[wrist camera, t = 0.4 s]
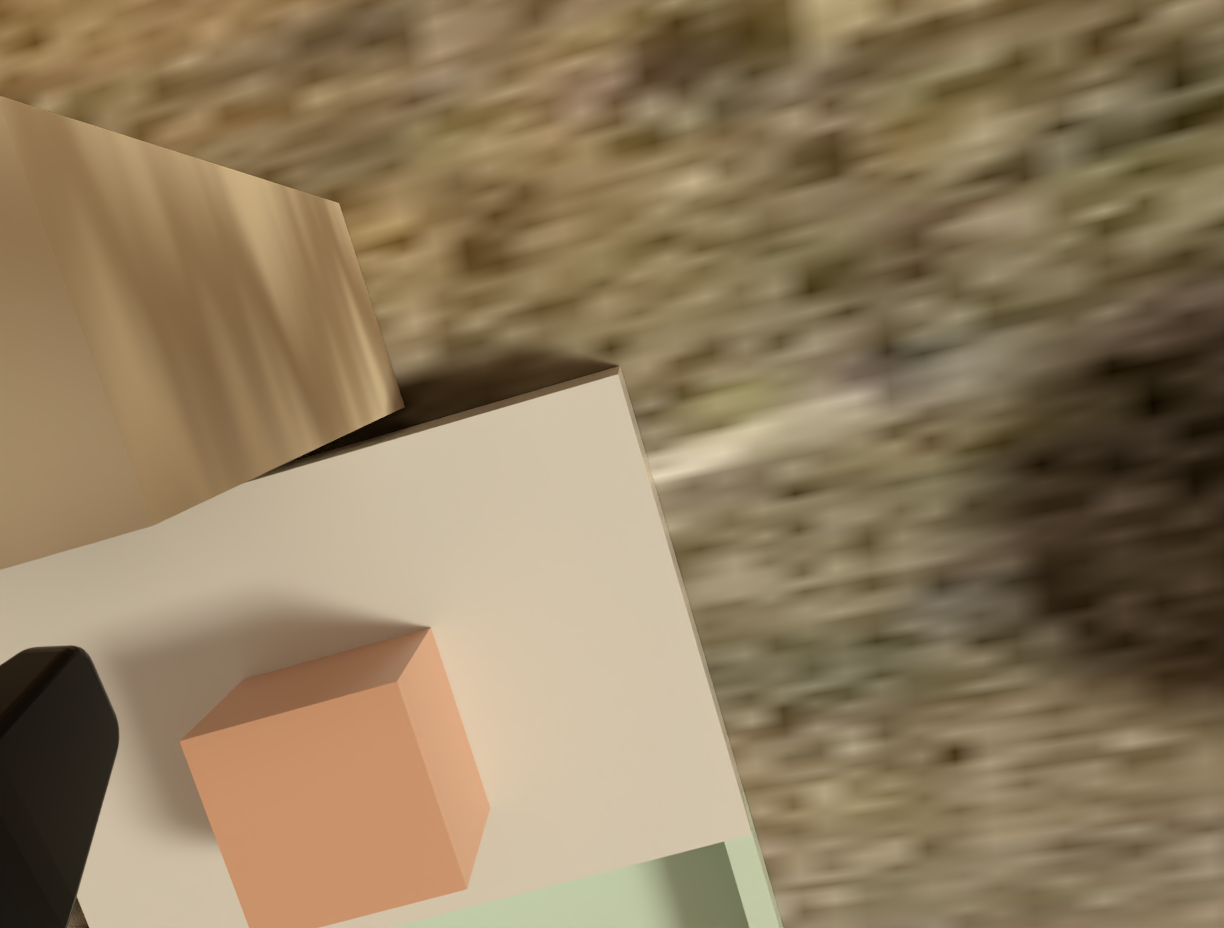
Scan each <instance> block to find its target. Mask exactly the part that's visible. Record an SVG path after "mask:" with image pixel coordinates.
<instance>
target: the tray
mask: <svg viewBox="0 0 1224 928" xmlns="http://www.w3.org/2000/svg"><path fill="white" fill-rule="evenodd" d="M740 781H741V780H740ZM741 785H742V784H741ZM742 790H743V787H742ZM743 795H744V799H745V804H746V809H747V813H748V818H749V823H750V827H751V832H752V834H751V835H747V836H743V837H739V838H736V839H732V840H728V841H724V842H720V843H716V844H712V845H708V846H705V847H701V848H697V849H693V850H689V851H685V852H681V853H678V854H674V855H670V856H666V857H662V858H658V859H654V860H650V861H647V862H643V863H639V864H635V865H631V866H627V867H623V868H619V869H616V870H612V871H608V872H604V873H600V874H596V875H592V876H588V877H585V878H581V879H577V880H573V881H569V882H565V883H561V884H558V885H554V886H550V887H546V888H542V889H538V890H534V891H530V892H527V893H523V894H519V895H515V896H511V897H507V898H503V899H499V900H496V901H492V902H488V903H484V904H480V905H476V906H472V907H469V908H465V909H461V910H457V911H453V912H449V913H445V914H441V915H438V916H434V917H430V918H426V919H422V920H418V921H414V922H410V923H407V924H403V925H399V926H395V927H391V928H783V925H782V921H781V918H780V914H779V911H778V908H777V904H776V901H775V897H774V894H773V890H772V887H771V883H770V880H769V877H768V873H767V870H766V866H765V863H764V859H763V856H762V852H761V849H760V846H759V842H758V839H757V835H756V832H755V828H754V825H753V821H752V818H751V815H750V811H749V808H748V804H747V801H746V797H745V794H744V790H743Z"/></svg>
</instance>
